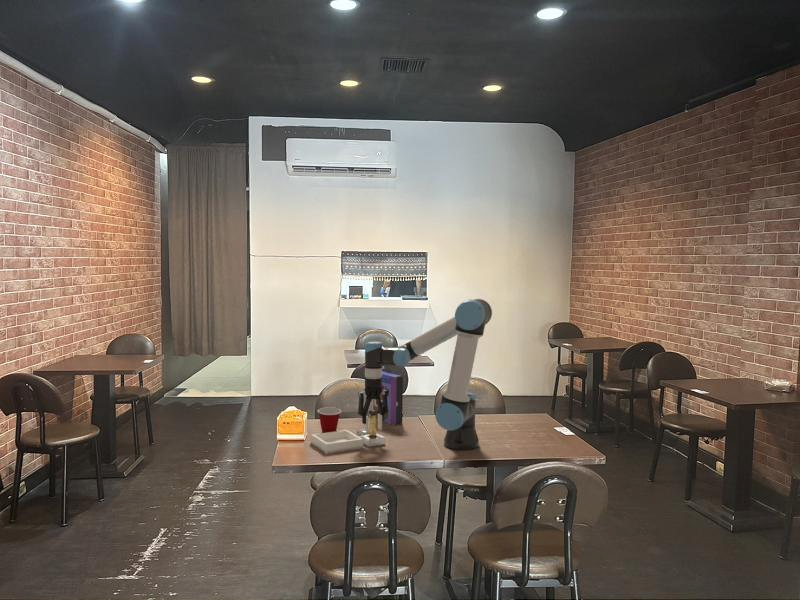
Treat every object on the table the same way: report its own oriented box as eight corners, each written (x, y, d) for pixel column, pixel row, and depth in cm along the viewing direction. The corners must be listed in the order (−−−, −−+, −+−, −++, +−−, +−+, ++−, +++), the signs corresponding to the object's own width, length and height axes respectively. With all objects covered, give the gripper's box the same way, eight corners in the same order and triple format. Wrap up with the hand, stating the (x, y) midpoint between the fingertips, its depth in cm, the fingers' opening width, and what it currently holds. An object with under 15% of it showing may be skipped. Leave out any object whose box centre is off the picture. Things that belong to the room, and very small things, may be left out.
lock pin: (378, 443, 268) (378, 411, 267) (370, 444, 266) (371, 412, 265) (374, 441, 271) (374, 409, 270) (367, 442, 269) (367, 410, 268)
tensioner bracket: (385, 444, 267) (385, 436, 267) (368, 446, 263) (368, 438, 263) (368, 435, 281) (368, 428, 281) (352, 437, 277) (352, 430, 277)
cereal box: (373, 418, 314) (373, 372, 313) (380, 417, 317) (380, 371, 316) (394, 425, 300) (395, 376, 299) (402, 424, 303) (402, 375, 302)
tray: (363, 448, 261) (363, 439, 260) (326, 453, 252) (326, 444, 252) (346, 438, 275) (346, 429, 275) (310, 443, 267) (311, 434, 267)
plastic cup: (323, 440, 272) (324, 413, 272) (313, 434, 281) (313, 408, 281) (345, 437, 278) (345, 410, 278) (334, 431, 287) (334, 406, 287)
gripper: (388, 374, 275) (387, 425, 276) (349, 377, 266) (349, 430, 267) (396, 377, 269) (396, 429, 270) (357, 380, 259) (356, 434, 260)
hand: (372, 430), depth 268 cm, fingers open, 6 cm apart
